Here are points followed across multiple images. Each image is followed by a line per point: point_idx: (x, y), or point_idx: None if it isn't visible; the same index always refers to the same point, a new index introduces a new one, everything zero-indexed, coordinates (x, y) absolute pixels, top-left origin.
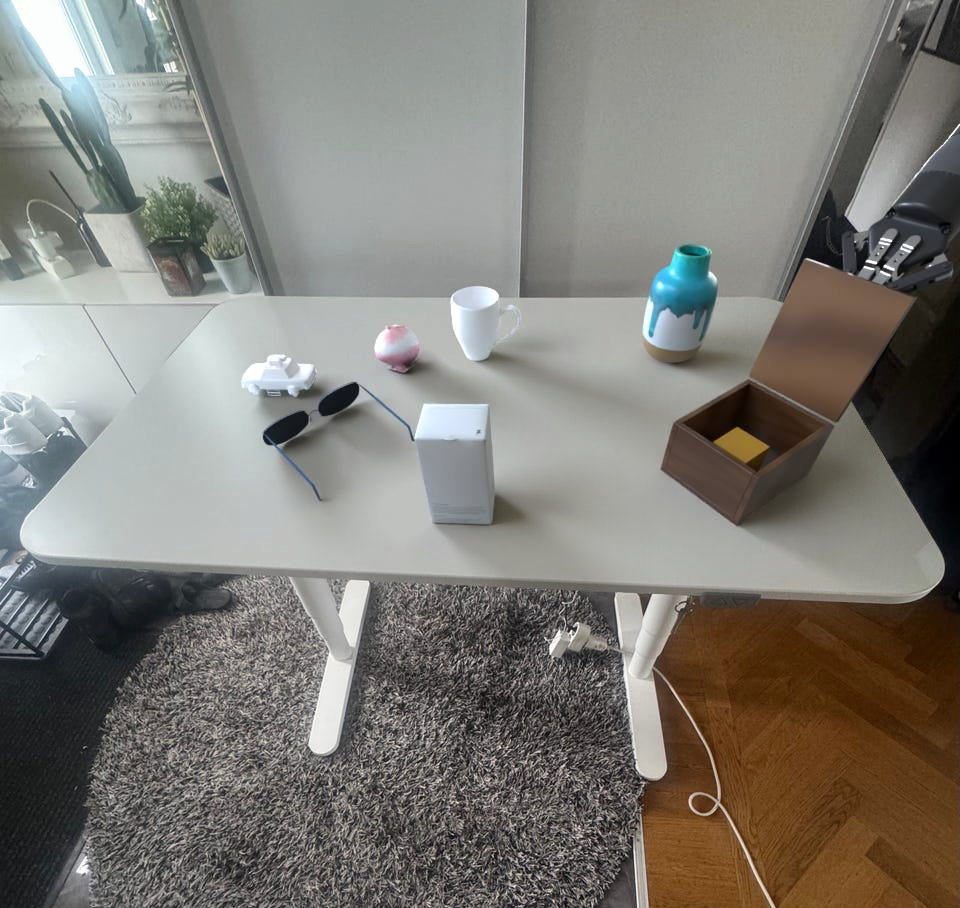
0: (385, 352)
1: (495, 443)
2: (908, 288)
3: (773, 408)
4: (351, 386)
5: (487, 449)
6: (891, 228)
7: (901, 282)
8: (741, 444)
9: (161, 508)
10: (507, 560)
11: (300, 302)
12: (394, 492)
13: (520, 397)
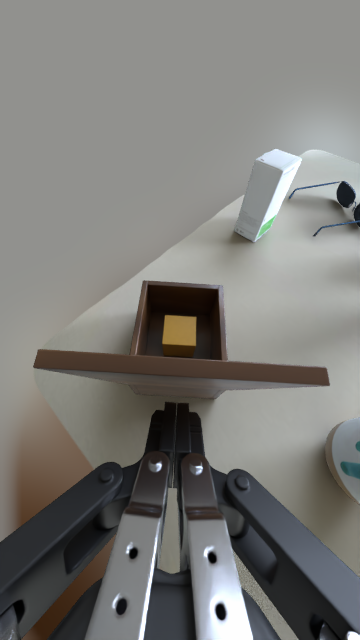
0: None
1: (290, 262)
2: (75, 543)
3: None
4: None
5: (254, 175)
6: None
7: (91, 492)
8: (179, 329)
9: (312, 169)
10: (211, 226)
11: None
12: (278, 216)
13: (331, 299)
